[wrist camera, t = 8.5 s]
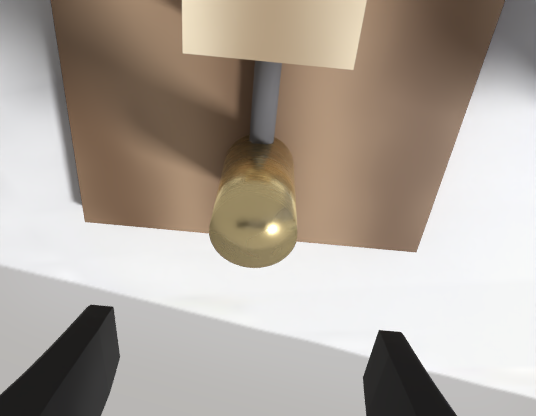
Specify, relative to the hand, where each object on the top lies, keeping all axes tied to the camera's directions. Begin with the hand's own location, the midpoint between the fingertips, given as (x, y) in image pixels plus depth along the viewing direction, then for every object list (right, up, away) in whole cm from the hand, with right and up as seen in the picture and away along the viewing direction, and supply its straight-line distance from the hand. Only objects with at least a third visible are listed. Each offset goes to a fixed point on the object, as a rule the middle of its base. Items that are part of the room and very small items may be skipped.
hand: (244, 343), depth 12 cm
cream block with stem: (+1, +9, +5) cm, 10 cm away
